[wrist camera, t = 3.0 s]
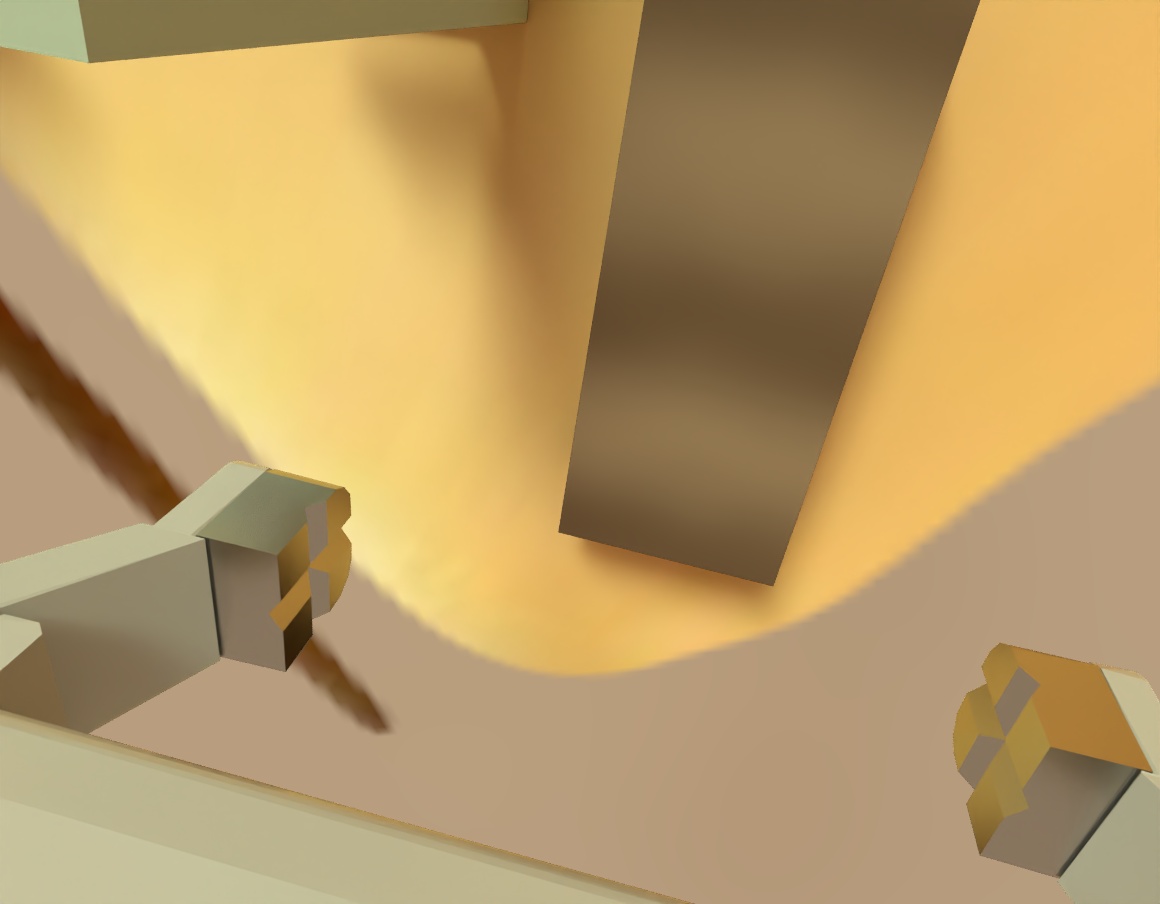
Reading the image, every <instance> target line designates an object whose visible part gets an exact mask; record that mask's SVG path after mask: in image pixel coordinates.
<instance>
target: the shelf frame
mask: <svg viewBox="0 0 1160 904" xmlns="http://www.w3.org/2000/svg"><path fill="white" fill-rule="evenodd" d="M527 12H528V0H0V47H5V48H11V49H16V50H21V51H27V52H32V53H37V54H43V55H48V56H53V57H59V58H64V59H69V60H75V61H80V62H86V63H95V62H106V61H117V60H128V59H138V58H149V57H160V56H171V55H181V54H192V53H203V52H214V51H224V50H235V49H246V48H257V47H267V46H278V45H289V44H300V43H310V42H321V41H332V40H343V39H353V38H364V37H375V36H386V35H396V34H407V33H418V32H429V31H439V30H450V29H461V28H472V27H482V26H493V25H504V24H515V23H525V22H527Z"/></svg>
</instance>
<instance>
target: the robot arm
mask: <svg viewBox="0 0 1160 904" xmlns="http://www.w3.org/2000/svg"><path fill="white" fill-rule="evenodd" d="M350 516H351V503H350V494H349V492H348V491H347V490H346V489H345V488H344V487H341V486H337V485H334V484H330V483H326V482H322V481H318V480H314V479H310V478H307V477H303V476H299V475H295V474H291V473H287V472H283V471H280V470H276V469H274V470H272V469H270V468H267V467H263V466H259V465H255V464H250V463H246V462H242V461H235V462H229V463H228V464H226V465H225V466H224V467H223V468H222V469H220V470H219V471H218V472H217V473H216V474H214V475H213V476H212V477H211V478H210V479H208V480H207V481H206V482H205V483H204V484H203V485H201V486H200V487H199V488H198V489H196V490H195V491H194V492H193V493H192V494H190V495H189V496H188V497H187V498H186V499H184V500H183V501H182V502H181V503H180V504H178V505H177V506H176V507H175V508H174V509H172V510H171V511H170V512H169V513H168V514H166V515H165V516H164V517H163V518H162V519H160V520H159V521H158V522H157V523H156V524H154V525H153V526H152V525H148V524H143V523H140V524H136V525H133V526H130V527H126V528H123V529H119V530H116V531H112V532H109V533H105V534H102V535H98V536H95V537H91V538H88V539H85V540H81V541H78V542H74V543H71V544H67V545H64V546H60V547H57V548H53V549H50V550H47V551H43V552H40V553H36V554H33V555H29V556H26V557H22V558H19V559H15V560H12V561H9V562H5V563H2V564H0V904H693V903H690V902H686V901H682V900H679V899H675V898H671V897H668V896H665V895H661V894H657V893H654V892H650V891H647V890H643V889H639V888H636V887H632V886H629V885H625V884H622V883H618V882H615V881H611V880H607V879H604V878H601V877H596V876H593V875H590V874H586V873H583V872H579V871H576V870H572V869H568V868H565V867H561V866H558V865H554V864H551V863H547V862H543V861H540V860H536V859H533V858H529V857H525V856H522V855H518V854H515V853H511V852H508V851H504V850H501V849H497V848H493V847H490V846H486V845H483V844H479V843H476V842H472V841H469V840H465V839H462V838H457V837H454V836H451V835H447V834H444V833H440V832H436V831H433V830H429V829H426V828H422V827H419V826H415V825H412V824H407V823H404V822H401V821H397V820H394V819H390V818H386V817H383V816H379V815H376V814H372V813H369V812H365V811H362V810H358V809H355V808H351V807H347V806H344V805H340V804H337V803H333V802H330V801H326V800H323V799H319V798H315V797H312V796H308V795H304V794H301V793H298V792H294V791H290V790H287V789H283V788H280V787H276V786H273V785H269V784H266V783H262V782H258V781H254V780H251V779H248V778H244V777H241V776H237V775H233V774H230V773H226V772H222V771H219V770H216V769H212V768H208V767H205V766H201V765H198V764H194V763H191V762H187V761H184V760H180V759H176V758H173V757H169V756H166V755H162V754H158V753H155V752H151V751H148V750H144V749H141V748H137V747H133V746H130V745H127V744H123V743H119V742H116V741H112V740H109V739H105V738H102V737H98V736H94V735H91V734H88V733H90V732H92V731H93V730H95V729H97V728H99V727H101V726H103V725H104V724H106V723H108V722H110V721H111V720H113V719H115V718H117V717H119V716H121V715H122V714H124V713H126V712H128V711H130V710H131V709H133V708H135V707H137V706H139V705H141V704H142V703H144V702H146V701H147V700H150V699H151V698H153V697H155V696H157V695H159V694H160V693H162V692H164V691H166V690H167V689H169V688H171V687H173V686H175V685H177V684H179V683H180V682H182V681H184V680H186V679H188V678H189V677H191V676H193V675H195V674H197V673H198V672H200V671H202V670H204V669H206V668H207V667H209V666H211V665H213V664H215V663H216V662H218V661H220V657H224V658H228V659H233V660H236V661H241V662H245V663H250V664H254V665H258V666H262V667H267V668H271V669H275V670H279V671H283V672H286V671H287V669H288V668H289V667H290V665H291V664H292V663H293V661H294V660H295V659H296V657H297V656H298V654H299V653H300V652H301V650H302V649H303V648H304V646H305V645H306V644H307V642H308V641H309V639H310V638H311V637H312V635H313V631H312V619H314V618H316V617H319V616H321V615H323V614H325V613H328V612H330V610H331V609H332V608H333V606H334V605H335V603H336V602H337V600H338V599H339V597H340V596H341V593H342V591H343V588H344V586H345V583H346V581H347V578H348V575H349V570H350V564H351V542H350V540H349V539H348V537H347V536H346V534H345V533H344V532H343V530H342V529H341V528H342V526H343V525H344V524H345V523H346V521H347V520H348V519H349V518H350ZM982 670H983V673H984V676H985V679H986V682H987V684H985V685H983V686H980V687H978V688H976V689H975V690H972V691H970V692H968V693H967V694H966V696H965V698H964V701H963V702H962V704H961V706H960V709H959V710H958V713H957V717H956V722H955V728H954V733H953V746H954V756H955V760H956V765H957V769H958V772H959V773H960V774H961V775H962V776H963V777H964V778H965V780H967V782H969V784H970V785H971V786H972V787H973V788H974V792H973V793H972V795H971V797H970V798H969V800H968V802H967V804H966V805H967V808H968V812H969V816H970V820H971V824H972V828H973V831H974V835H975V839H976V843H977V847H978V850H979V854H980V856H984V857H987V858H990V859H994V860H997V861H1001V862H1004V863H1008V864H1011V865H1014V866H1018V867H1021V868H1025V869H1028V870H1032V871H1035V872H1039V873H1042V874H1045V875H1049V876H1052V877H1056V878H1059V880H1058V883H1059V884H1060V886H1061V887H1062V888H1063V890H1064V891H1065V892H1066V893H1067V895H1068V896H1069V897H1070V899H1071V900H1072V901H1073V903H1074V904H1160V702H1159V700H1158V698H1157V697H1156V695H1155V693H1154V692H1153V690H1152V688H1151V686H1150V685H1149V683H1148V681H1147V680H1146V679H1145V678H1143V677H1142V676H1141V675H1140V674H1138V673H1137V672H1135V671H1130V670H1125V669H1121V668H1116V667H1111V666H1106V665H1101V664H1097V663H1091V662H1089V663H1085V662H1081V661H1076V660H1072V659H1068V658H1063V657H1059V656H1055V655H1050V654H1046V653H1042V652H1037V651H1033V650H1029V649H1024V648H1020V647H1016V646H1012V645H1007V644H1003V643H999V644H998V645H997V646H996V647H994V648H993V649H992V650H991V651H990V653H989V654H988V656H987V658H986V659H985V661H984V663H983V665H982Z"/></svg>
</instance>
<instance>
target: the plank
mask: <svg viewBox="0 0 1160 904" xmlns="http://www.w3.org/2000/svg"><path fill="white" fill-rule="evenodd" d="M979 2H980V0H644V6H643V12H642V19H641V25H640V31H639V37H638V43H637V50H636V56H635V62H634V68H633V74H632V80H631V87H630V93H629V99H628V105H627V111H626V118H625V124H624V130H623V136H622V142H621V148H620V155H619V161H618V167H617V173H616V179H615V185H614V192H613V198H612V204H611V210H610V216H609V223H608V229H607V235H606V241H605V247H604V253H603V260H602V266H601V272H600V278H599V284H598V291H597V297H596V303H595V309H594V315H593V321H592V328H591V334H590V340H589V346H588V352H587V359H586V365H585V371H584V377H583V383H582V389H581V396H580V402H579V408H578V414H577V420H576V426H575V433H574V439H573V445H572V451H571V457H570V464H569V470H568V476H567V482H566V488H565V494H564V501H563V507H562V513H561V519H560V525H559V533H563V534H567V535H571V536H575V537H579V538H583V539H587V540H591V541H595V542H599V543H603V544H607V545H611V546H615V547H619V548H623V549H627V550H631V551H635V552H639V553H643V554H647V555H651V556H655V557H659V558H663V559H667V560H671V561H675V562H679V563H683V564H687V565H691V566H695V567H699V568H703V569H706V570H710V571H714V572H718V573H722V574H726V575H730V576H734V577H738V578H742V579H746V580H750V581H754V582H758V583H762V584H766V585H770V586H773V585H774V583H775V580H776V577H777V574H778V571H779V568H780V566H781V563H782V560H783V557H784V554H785V551H786V549H787V546H788V543H789V540H790V537H791V534H792V532H793V529H794V526H795V523H796V520H797V517H798V515H799V512H800V509H801V506H802V503H803V500H804V498H805V495H806V492H807V489H808V486H809V484H810V481H811V478H812V475H813V472H814V469H815V467H816V464H817V461H818V458H819V455H820V452H821V450H822V447H823V444H824V441H825V438H826V435H827V433H828V430H829V427H830V424H831V421H832V418H833V416H834V413H835V410H836V407H837V404H838V401H839V399H840V396H841V393H842V390H843V387H844V384H845V382H846V379H847V376H848V373H849V370H850V367H851V365H852V362H853V359H854V356H855V353H856V350H857V348H858V345H859V342H860V339H861V336H862V333H863V331H864V328H865V325H866V322H867V319H868V317H869V314H870V311H871V308H872V305H873V302H874V300H875V297H876V294H877V291H878V288H879V285H880V283H881V280H882V277H883V274H884V271H885V268H886V266H887V263H888V260H889V257H890V254H891V251H892V249H893V246H894V243H895V240H896V237H897V234H898V232H899V229H900V226H901V223H902V220H903V217H904V215H905V212H906V209H907V206H908V203H909V200H910V198H911V195H912V192H913V189H914V186H915V183H916V181H917V178H918V175H919V172H920V169H921V166H922V164H923V161H924V158H925V155H926V152H927V150H928V147H929V144H930V141H931V138H932V135H933V133H934V130H935V127H936V124H937V121H938V118H939V116H940V113H941V110H942V107H943V104H944V101H945V99H946V96H947V93H948V90H949V87H950V84H951V82H952V79H953V76H954V73H955V70H956V67H957V65H958V62H959V59H960V56H961V53H962V50H963V48H964V45H965V42H966V39H967V36H968V33H969V31H970V28H971V25H972V22H973V19H974V16H975V14H976V11H977V8H978V5H979Z"/></svg>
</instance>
